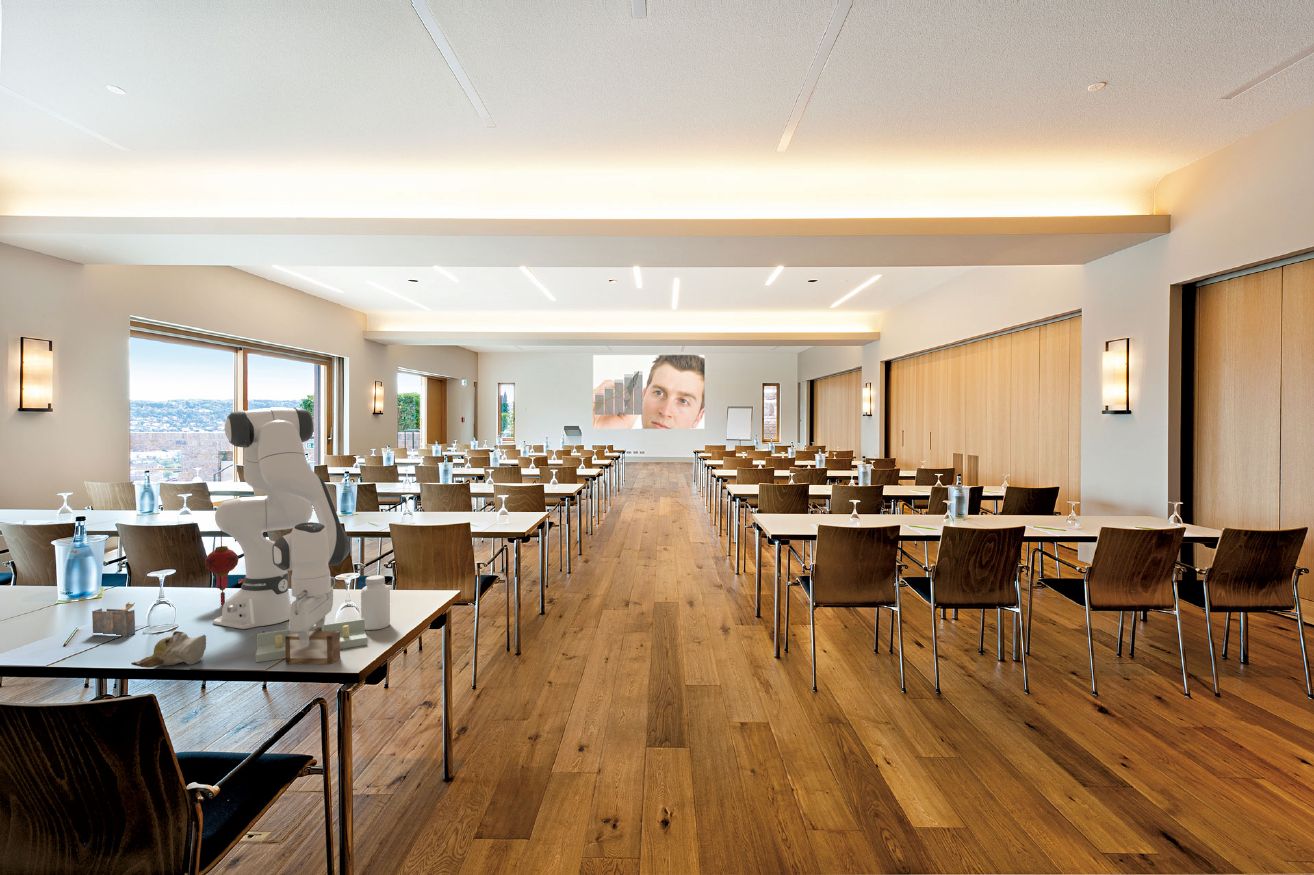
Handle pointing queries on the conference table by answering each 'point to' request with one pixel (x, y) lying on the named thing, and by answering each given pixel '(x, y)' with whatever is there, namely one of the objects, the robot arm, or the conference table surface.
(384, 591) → the pill bottle
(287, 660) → the wooden box
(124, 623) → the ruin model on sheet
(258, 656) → the ledge
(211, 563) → the lantern
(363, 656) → the conference table surface
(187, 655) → the ceramic sculpture
